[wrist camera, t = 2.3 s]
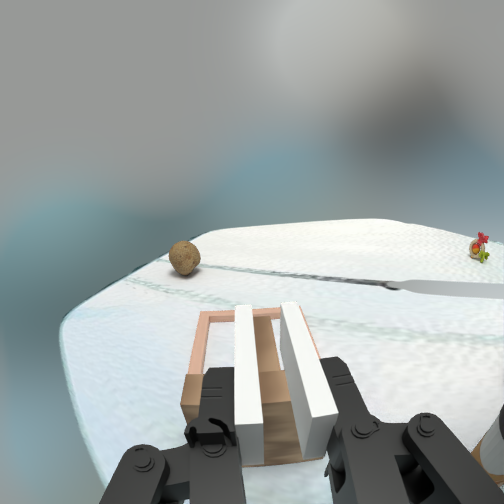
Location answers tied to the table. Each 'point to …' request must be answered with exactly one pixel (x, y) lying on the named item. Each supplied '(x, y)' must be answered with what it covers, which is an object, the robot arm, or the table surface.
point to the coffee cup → (492, 450)
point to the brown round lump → (184, 257)
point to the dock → (223, 316)
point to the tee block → (272, 400)
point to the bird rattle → (475, 247)
